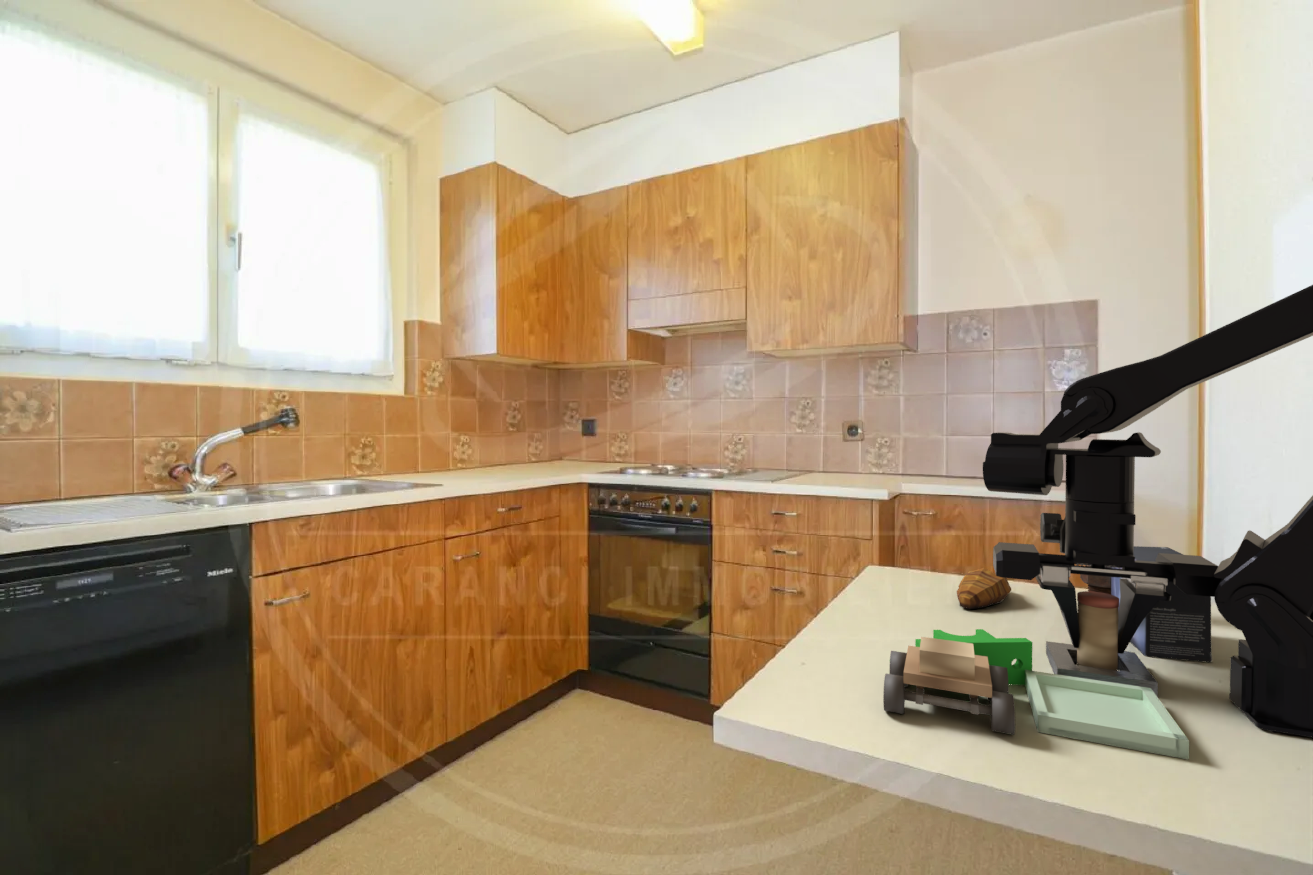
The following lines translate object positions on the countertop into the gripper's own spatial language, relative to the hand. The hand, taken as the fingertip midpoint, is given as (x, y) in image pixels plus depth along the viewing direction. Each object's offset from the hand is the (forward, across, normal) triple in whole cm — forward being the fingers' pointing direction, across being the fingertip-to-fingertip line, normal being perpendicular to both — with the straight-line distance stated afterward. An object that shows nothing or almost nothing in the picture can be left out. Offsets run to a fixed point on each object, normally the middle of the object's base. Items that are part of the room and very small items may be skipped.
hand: (1097, 649), depth 63 cm
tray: (+2, +2, +11) cm, 11 cm away
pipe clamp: (+3, +12, +6) cm, 14 cm away
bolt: (+3, -5, -25) cm, 26 cm away
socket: (+2, 0, 0) cm, 2 cm away
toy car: (+2, +14, +14) cm, 20 cm away
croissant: (+3, +9, -23) cm, 25 cm away
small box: (+3, -8, -13) cm, 16 cm away
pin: (+2, 0, 0) cm, 2 cm away
